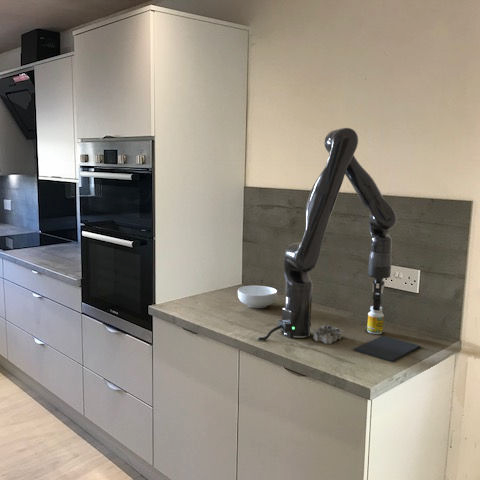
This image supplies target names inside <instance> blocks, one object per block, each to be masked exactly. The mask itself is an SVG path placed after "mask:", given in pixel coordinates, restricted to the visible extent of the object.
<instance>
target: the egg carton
mask: <svg viewBox="0 0 480 480" xmlns="http://www.w3.org/2000/svg"><path fill="white" fill-rule="evenodd" d="M343 332H344V330H343V329H341V330H340V329H339V327H335V326H333V325H329V324H327V323H325V324H324V325H323V326H319V327H317V328H315V329H314V328H313V329H312V332H311V333H312V334H313V338H312V339H313V340H314V341H315V342H322V343H323V344H329V345H330V344H333V342H337V340H341V339H342V334H343Z"/></svg>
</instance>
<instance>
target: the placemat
mask: <svg viewBox="0 0 480 480" xmlns="http://www.w3.org/2000/svg"><path fill="white" fill-rule="evenodd" d="M420 348H421V345H419V344H415V343H413V342H408V341H405V340H401V339H397V338H393V337H389V336H386V335H381V336H379V337H377V338H374V339H372V340H370V341H368V342H366V343H363V344H361V345H359V346H356V347H355V348H354V349H353V350H354V351H356V352H359V353H361V354H366V355H369V356H372V357H376V358H379V359H382V360H385V361H389V362H392V363H393V362H394V361H397V360H399V359H401V358H402V357H405V356H406V355H408V354H410V353H412V352H414V351H417V350H418V349H420Z"/></svg>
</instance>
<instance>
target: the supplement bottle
mask: <svg viewBox="0 0 480 480" xmlns="http://www.w3.org/2000/svg"><path fill="white" fill-rule="evenodd" d="M369 310H370V311H369V312H368V313H367V325H366V331H367V332H368V334H372V335H381V334H383V332H384V320H385V319H384V318H385V315H384V313H383V307H382V306H380V310H379V311H377V310H373V305H370V308H369Z"/></svg>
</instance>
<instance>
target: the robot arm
mask: <svg viewBox="0 0 480 480" xmlns="http://www.w3.org/2000/svg"><path fill="white" fill-rule="evenodd" d="M323 143H324V148H325V150H326V151H327V153H328V154H329V155H328V159H327V161H326V163H325V166H324V168H323V170H322V171H321V172H320V174H319V176H318V177H317V179H316V180H315V181H314V183H313V185H312V187H311V189H310V192H309V195H308V199H307V200H306V204H305V229H304V234H303V237H302V240H301V242H293V243H291V244H289V245H288V246H287V248H286V249H285V251H284V257H283V261H284V262H283V278H284V282H285V295H284V307H282V308H281V319H279V320H278V323H277V326H276V327H274V328H272V329H271V330H269V331H268V333H267V334H266V336H263V337H258V338H257V340H258V341H265V340H266V341H267V340H268V339H269V338H270V336H271V335H272V334H273V333H274V332H275V331H277V330H280V333H281V334H283V335H284V336H286V337H288V338H289V339H306V338H309V337H310V336H311V327H312V322H311V320H312V302H313V281H312V279H311V276H310V274H309V272H311V271H312V270H313V269H315V267H316V266H317V264H318V261H319V258H320V255H321V250H322V245H323V241H324V237H325V235H326V231H327V230H328V229H327V228H328V227H329V222H330V220H331V216H332V214H333V211H334V209H335V206H336V202H337V201H338V197H339V193H340V191H341V187H342V185H343V182H344V180H345V179H344V178H345V176H346V178H347V179H348V181H349V183H350V184H351V186H352V188H353V189H354V192H356V194H357V197H358V198H359V200H360V202H361V203H362V205H363V206H364V208H366V209H368V210H369V212H370V214H369V218H368V226H369V227H368V228H369V235H370V249H369V256H368V268H367V269H368V270H367V276H368V277H370V278H374V279H373V280H372V282H371V283H372V284H371V286H372V291H371V292H372V302H373V305H372V306H373V310H377V311H379V310H380V307H381V305H382V296H383V295H384V289H385V284H386V282H385V280H384V279H389V278H391V272H392V271H391V270H392V259H393V258H392V247H393V239H392V236H391V235H390V234H389V230H391V229H393V228H394V227H395V225H396V224H397V221H398V219H397V215H396V212H395V210H394V209H393V207H392V206H391V205H390V204H389V202H388V201H387V200H386V199H385V198H384V196H383V194H382V193H381V191H380V188H379V187H378V185H377V183H376V182H375V180H374V178H373V177H372V176H371V175H370V174H369V172H367V170H366V169H365V168H364V167H363V166H362V165H361V164H360V162H359V161H358V160H357V158H356V156H355V152H356V150H357V148H358V146H359V136H358V133H357V132H356V131H355V130H354V129H353V128H351V127H342V128H338V129H334V130H331V131H329V132H328V133H327V134H326V136H325V137H324V142H323Z"/></svg>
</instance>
